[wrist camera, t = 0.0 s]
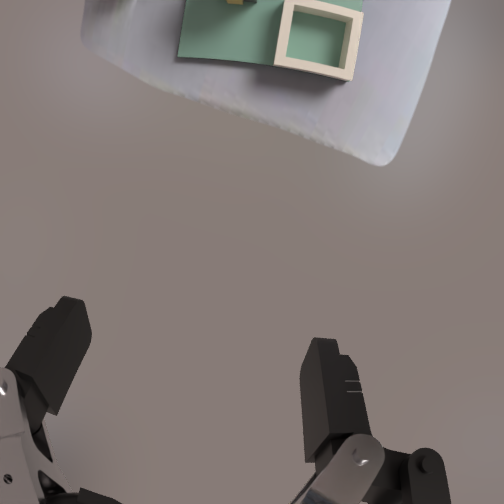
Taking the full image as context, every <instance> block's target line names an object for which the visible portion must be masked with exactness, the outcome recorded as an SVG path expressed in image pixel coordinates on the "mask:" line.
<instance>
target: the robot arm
mask: <svg viewBox="0 0 504 504" xmlns="http://www.w3.org/2000/svg"><path fill="white" fill-rule="evenodd" d="M91 337H92V332H91V327H90V323H89V319H88V315H87V311H86V307H85V303H84V301H83V300H80V299H76V298H71V297H67V296H63V297H62V298H61V299H60V300H59V301H58V303H57V304H56V306H55V307H54V308H53V307H49V308H48V309H47V310H46V311H44V312H43V313H41V314H40V315H39V316H38V318H37V319H36V321H35V322H34V324H33V325H32V327H31V328H30V329H29V331H28V332H27V336H25V337H24V338H23V340H22V341H21V343H20V345H19V346H18V348H17V349H16V351H15V352H14V354H13V355H12V357H11V359H10V361H9V362H8V364H7V365H6V367H5V368H0V504H122V503H120V502H118V501H116V500H115V499H113V498H110V497H106V496H103V495H100V494H97V493H94V492H92V491H89V490H86V489H83V488H80V491H79V493H73V492H72V490H71V488H70V485H69V483H68V481H67V479H66V477H65V476H64V474H63V472H62V471H61V469H60V467H59V465H58V463H57V460H56V457H55V454H54V451H53V448H52V444H51V441H50V438H49V434H48V430H47V427H46V423H45V420H44V416H45V414H46V412H48V413H51V414H53V415H56V416H57V414H58V412H59V409H60V407H61V405H62V403H63V400H64V398H65V396H66V394H67V391H68V389H69V387H70V385H71V383H72V381H73V379H74V376H75V374H76V372H77V370H78V368H79V366H80V364H81V362H82V360H83V358H84V356H85V354H86V352H87V350H88V348H89V345H90V343H91ZM300 391H301V404H302V419H303V435H304V450H305V462H306V463H309V462H311V463H312V462H313V463H314V462H315V468H316V472H315V473H314V474H313V475H312V476H311V478H310V479H309V480H308V481H307V483H306V484H305V485H304V486H303V488H302V489H301V490H300V491H299V492H298V494H297V495H296V496H295V497H294V498H293V499H292V501H291V502H290V503H289V504H359V503H360V502H361V501H363V502H367V503H368V504H451V499H450V494H449V488H448V482H447V476H446V471H445V466H444V462H443V460H442V457H441V456H440V455H439V454H438V453H437V452H436V451H435V450H433V449H430V448H420V449H418V450H416V451H415V452H413V453H412V454H407V453H402V452H397V451H392V450H389V449H386V448H384V447H382V445H381V443H380V442H379V441H378V440H377V439H376V438H374V437H373V436H372V434H371V431H370V426H369V421H368V416H367V411H366V407H365V402H364V397H363V393H362V388H361V384H360V383H359V375H358V371H357V367H356V366H355V364H354V363H353V361H352V360H351V358H350V357H349V356H348V355H340V353H339V348H338V344H337V341H336V340H335V339H327V338H313V339H312V341H311V344H310V346H309V349H308V351H307V354H306V356H305V359H304V361H303V363H302V366H301V371H300Z"/></svg>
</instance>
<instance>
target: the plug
mask: <svg viewBox="0 0 504 504" xmlns="http://www.w3.org/2000/svg"><path fill="white" fill-rule="evenodd" d="M226 1H227V3H228V4H240V5H243V2H253V3H257V0H226Z"/></svg>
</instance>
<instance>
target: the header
mask: <svg viewBox="0 0 504 504" xmlns="http://www.w3.org/2000/svg"><path fill="white" fill-rule="evenodd" d="M293 11H297V12H303V13H308V14H312V15H317V16H321V17H326V18H330V19H334V20H338V21H342V22H345V23H346V26H345V32H344V38H343V44H342V50H341V56H340V61H339V67H338V68H336V67H332V66H328V65H324V64H320V63H315V62H310V61H305V60H300V59H295V58H290V57H286V51H287V46H288V40H289V34H290V28H291V22H292V16H293ZM363 15H364V13H362V12H359V11H356V10H352V9H349V8H345V7H341V6H338V5H334V4H330V3H325V2H321V1H317V0H284V4H283V10H282V16H281V21H280V27H279V33H278V39H277V45H276V51H275V57H274V63H273V66H278V67H284V68H290V69H295V70H300V71H305V72H310V73H315V74H320V75H324V76H328V77H333V78H337V79H341V80H345V81H352V79H353V73H354V68H355V63H356V57H357V51H358V46H359V40H360V34H361V27H362V21H363Z"/></svg>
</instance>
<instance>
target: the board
mask: <svg viewBox="0 0 504 504" xmlns="http://www.w3.org/2000/svg"><path fill="white" fill-rule="evenodd" d="M317 1H321V2H325V3H330V4H334V5H338V6H341V7H345V8H349V9H352V10H356V11H359V12H361V10H362V3H363V0H317ZM283 4H284V0H257V3H253V2H243V5H240V4H228V3H227V1H226V0H186V5H185V11H184V17H183V23H182V29H181V36H180V43H179V50H178V57H186V58H205V59H218V60H229V61H239V62H247V63H255V64H262V65H269V66H273V63H274V57H275V51H276V45H277V39H278V33H279V27H280V21H281V16H282V10H283ZM345 26H346V23H345V22H342V21H338V20H334V19H330V18H326V17H321V16H317V15H312V14H308V13H303V12H297V11H293V16H292V22H291V28H290V34H289V40H288V46H287V51H286V57H290V58H295V59H300V60H305V61H310V62H315V63H320V64H324V65H328V66H332V67H336V68H338V67H339V61H340V56H341V50H342V44H343V38H344V32H345ZM275 67H278V66H275ZM281 68H284V67H281ZM287 69H290V68H287ZM293 70H295V69H293ZM298 71H300V70H298ZM303 72H305V71H303ZM308 73H310V72H308ZM313 74H315V73H313ZM317 75H320V74H317ZM322 76H324V75H322ZM326 77H328V76H326ZM331 78H333V77H331ZM335 79H337V78H335ZM339 80H341V79H339ZM343 81H345V80H343ZM347 82H349V81H347Z"/></svg>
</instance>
